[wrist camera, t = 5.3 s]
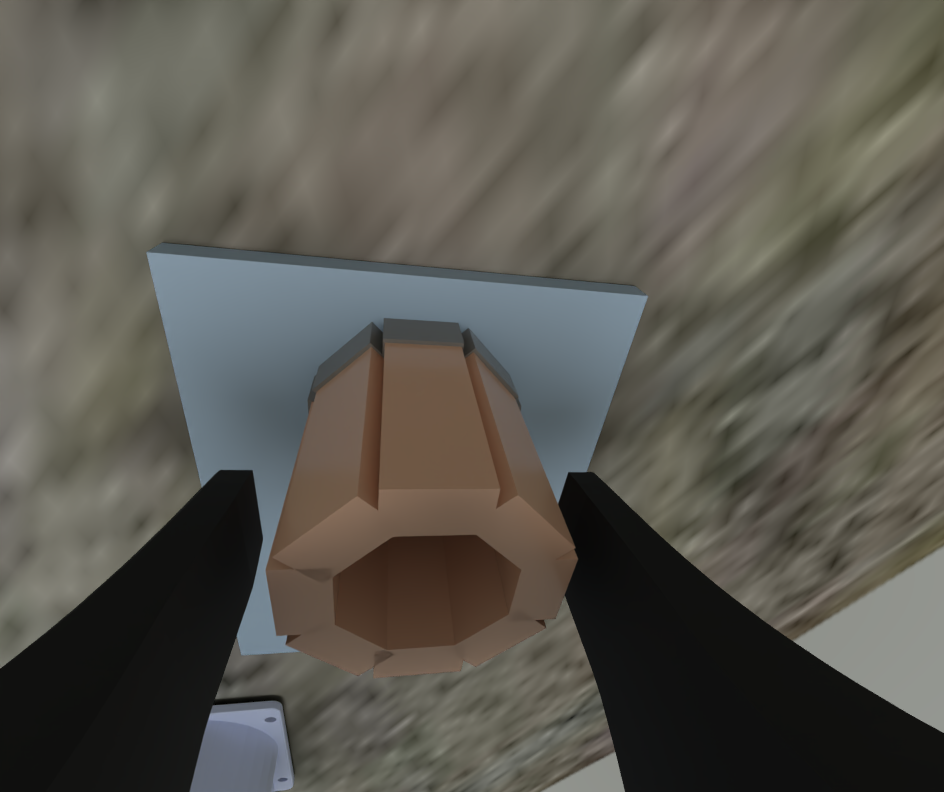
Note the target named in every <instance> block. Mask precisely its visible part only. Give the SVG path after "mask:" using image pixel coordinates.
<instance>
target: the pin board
mask: <svg viewBox="0 0 944 792" xmlns="http://www.w3.org/2000/svg"><path fill="white" fill-rule="evenodd" d="M146 253H147V257H148V261H149V266H150V270H151V274H152V278H153V283H154V287H155V291H156V295H157V300H158V304H159V308H160V312H161V316H162V321H163V325H164V329H165V333H166V338H167V342H168V346H169V350H170V355H171V359H172V363H173V367H174V372H175V376H176V380H177V384H178V389H179V393H180V397H181V401H182V405H183V410H184V414H185V418H186V422H187V427H188V431H189V435H190V439H191V444H192V448H193V452H194V456H195V461H196V465H197V469H198V473H199V477H200V482H201V486H202V487H203V486H204V485H205V484H206V483H207V482H208V481H209V480H210V479H211V478H212V477H213V476H214V474H216V473H217V472H218V471H219V470H253V475H254V482H255V488H256V495H257V501H258V508H259V514H260V521H261V527H262V534H263V543H262V548H261V553H260V558H259V562H258V567H257V572H256V576H255V580H254V585H253V589H252V592H251V595H250V598H249V601H248V604H247V607H246V610H245V613H244V616H243V619H242V621H241V624H240V627H239V630H238V633H237V638H238V643H239V647H240V651H241V655H256V654H272V653H287V652H300V651H298V650H296V649H293V648H291V647H289V646H286V645H285V644H286V640H287V635H285V636H276V631H275V625H274V619H273V613H272V607H271V601H270V595H269V589H268V583H267V577H266V571H265V570H266V566H267V563H268V559H269V555H270V552H271V548H272V544H273V541H274V537H275V534H276V530H277V526H278V523H279V519H280V516H281V512H282V508H283V505H284V501H285V497H286V494H287V490H288V487H289V483H290V479H291V476H292V472H293V468H294V465H295V461H296V458H297V454H298V450H299V447H300V443H301V439H302V436H303V432H304V429H305V425H306V421H307V418H308V401H307V400H308V396H309V393H310V390H311V386H312V383H313V379H314V376H315V375H316V374H317V371H318V367H319V366H320V365H321V364H322V363H323V362H324V361H326V360H327V359H328V358H329V357H330V356H332V355H333V354H334V353H335V352H336V351H338V350H339V349H340V348H341V347H342V346H344V345H345V344H346V343H347V342H348V341H350V340H351V339H352V338H353V337H354V336H356V335H357V334H358V333H359V332H360V331H362V330H363V329H364V328H365V327H366V326H367V325H369V324H370V323H371V322H373V323H374V324H375V325H376V326H377V327H378V328H379V329H380V330H381V331H382V332H383V324H384V318H392V319H407V320H423V321H439V322H455V323H459V327H460V330H461V333H462V332H464V331H465V330H466V329H468V328H469V329H470V330H471V331H472V332H473V333H474V334H475V335H476V337H477V338H478V339H479V340H480V341H481V342H482V343H483V345H484V346H485V347H486V348H487V349H488V350H489V351H490V353H491V354H492V355H493V356H494V357H495V358H496V359H497V361H498V362H499V363H500V364H501V365H502V366H503V367H504V369H505V370H506V371H507V372H508V373H509V374H510V377H511V379H512V381H513V384H514V386H515V388H516V391H517V393H518V396H519V398H518V399H519V402H520V404H521V406H522V407H521V411H520V412H521V414H522V417H523V419H524V422H525V424H526V427H527V429H528V431H529V434H530V436H531V439H532V441H533V444H534V446H535V449H536V451H537V454H538V456H539V459H540V461H541V464H542V466H543V468H544V471H545V473H546V476H547V478H548V481H549V483H550V486H551V488H552V491H553V493H554V496H555V498H556V501H557V503H558V502H559V499H560V496H561V493H562V490H563V487H564V484H565V481H566V478H567V474H568V472H587V469H588V466H589V464H590V461H591V458H592V455H593V452H594V449H595V446H596V444H597V441H598V438H599V435H600V432H601V429H602V426H603V423H604V421H605V418H606V415H607V412H608V409H609V406H610V403H611V401H612V398H613V395H614V392H615V389H616V386H617V383H618V381H619V378H620V375H621V372H622V369H623V366H624V363H625V360H626V358H627V355H628V352H629V349H630V346H631V343H632V340H633V338H634V335H635V332H636V329H637V326H638V323H639V320H640V317H641V315H642V312H643V309H644V306H645V303H646V300H647V297H648V296H647V295H646V294H645V293H643V292H642V291H641V290H639V289H638V288H637V287H636V286H629V285H618V284H608V283H597V282H586V281H575V280H564V279H553V278H542V277H531V276H520V275H509V274H498V273H487V272H477V271H466V270H455V269H444V268H433V267H422V266H411V265H400V264H389V263H378V262H367V261H356V260H346V259H335V258H324V257H313V256H302V255H291V254H280V253H269V252H258V251H247V250H236V249H226V248H215V247H204V246H193V245H182V244H171V243H161V244H159V245H157V246H156V247H154V248H152V249H151V250H149V251H147V252H146Z"/></svg>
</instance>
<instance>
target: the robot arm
mask: <svg viewBox="0 0 944 792" xmlns="http://www.w3.org/2000/svg"><path fill="white" fill-rule="evenodd" d="M558 506H559V508H560V510H561V513H562V515H563V518H564V520H565V523H566V525H567V528H568V530H569V533H570V535H571V538H572V540H573V543H574V545H575V547H576V548H575V549H574V550H575V553H576V555H577V558H578V561H577V563H576V566H575V569H574V571H573V574H572V576H571V579H570V582H569V584H568V587H567V590H566V592H565V597H566V600H567V602H568V605H569V608H570V611H571V613H572V616H573V619H574V622H575V624H576V627H577V630H578V633H579V635H580V638H581V641H582V644H583V646H584V649H585V652H586V655H587V657H588V660H589V663H590V665H591V668H592V671H593V674H594V677H595V680H596V683H597V686H598V689H599V692H600V695H601V699H602V703H603V706H604V710H605V714H606V718H607V721H608V725H609V729H610V733H611V737H612V740H613V744H614V748H615V752H616V756H617V760H618V764H619V768H620V773H621V777H622V781H623V784H624V789H625V792H944V733H942V732H941V731H939V730H937V729H935V728H933V727H932V726H930V725H928V724H926V723H924V722H922V721H920V720H919V719H917V718H915V717H913V716H912V715H910V714H908V713H906V712H905V711H903V710H901V709H899V708H898V707H896V706H894V705H893V704H891V703H890V702H888V701H886V700H885V699H883V698H881V697H879V696H878V695H876V694H874V693H873V692H871V691H869V690H868V689H866V688H864V687H863V686H861V685H859V684H858V683H856V682H854V681H853V680H851V679H850V678H848V677H847V676H845V675H843V674H842V673H840V672H839V671H837V670H835V669H834V668H832V667H831V666H829V665H828V664H826V663H824V662H823V661H821V660H820V659H818V658H817V657H815V656H814V655H812V654H811V653H810V652H808V651H807V650H805V649H804V648H802V647H801V646H799V645H797V644H796V643H795V642H793V641H792V640H790V639H789V638H787V637H786V636H784V635H783V634H781V633H780V632H779V631H777V630H776V629H774V628H773V627H771V626H770V625H769V624H767V623H766V622H765V621H763V620H762V619H761V618H759V617H758V616H757V615H755V614H754V613H753V612H751V611H750V610H749V609H747V608H746V607H745V606H743V605H742V604H741V603H739V602H738V601H737V600H735V599H734V598H733V597H731V596H730V595H729V594H727V593H726V592H725V591H724V590H722V589H721V588H720V587H719V586H717V585H716V584H715V583H714V582H713V581H711V580H710V579H709V578H708V577H707V576H705V575H704V574H703V573H702V572H701V571H700V570H698V569H697V568H696V567H695V566H694V565H692V564H691V563H690V562H689V561H688V560H687V559H685V558H684V557H683V556H682V555H681V554H680V553H679V552H678V551H676V550H675V549H674V548H673V547H672V546H671V545H670V544H669V543H667V542H666V541H665V540H664V539H663V538H662V537H661V536H660V535H659V534H658V533H657V532H656V531H654V530H653V529H652V528H651V527H650V526H649V525H648V524H647V523H646V522H645V521H644V520H643V519H642V518H641V517H640V516H639V515H638V514H637V513H635V512H634V511H633V510H632V509H631V508H630V507H629V506H628V505H627V504H626V503H625V502H624V501H623V500H622V499H621V498H620V497H619V496H618V495H617V494H616V493H615V492H614V491H613V490H612V489H611V488H610V487H608V486H607V485H606V484H605V483H604V482H603V481H602V480H601V479H600V478H599V477H598V476H597V475H595V474H594V473H593V472H568V474H567V478H566V481H565V484H564V487H563V490H562V493H561V496H560V499H559V502H558ZM262 543H263V534H262V527H261V521H260V514H259V508H258V501H257V495H256V488H255V482H254V475H253V470H219V471H218V472H217V473H216V474H214V476H213V477H212V478H211V479H210V480H209V481H208V482H207V483H206V484H205V485H204V486H203V487H202V488H201V489H200V490H199V491H198V492H197V493H196V494H195V495H194V496H193V497H192V498H191V499H190V500H189V501H188V502H187V503H186V504H185V506H184V507H183V508H182V509H181V510H180V511H179V512H178V513H177V514H176V515H175V516H174V517H173V518H172V519H171V520H170V521H169V522H168V523H167V524H166V525H165V526H164V527H163V528H162V529H161V530H160V531H159V532H158V533H156V534H155V535H154V536H153V537H152V538H151V539H150V540H149V541H148V542H147V543H146V544H145V545H144V546H143V547H142V548H141V549H140V550H139V551H138V552H137V553H136V554H135V555H134V556H133V557H132V558H131V559H130V560H128V561H127V562H126V563H125V564H124V565H123V566H122V567H121V568H120V569H119V570H117V571H116V572H115V573H114V574H113V575H112V576H111V577H110V578H109V579H107V580H106V581H105V582H104V583H103V584H102V585H101V586H100V587H98V588H97V589H96V590H95V591H94V592H93V593H92V594H91V595H90V596H88V597H87V598H86V599H85V600H84V601H83V602H82V603H81V604H79V605H78V606H77V607H76V608H75V609H74V610H72V611H71V612H70V613H69V614H68V615H66V616H65V617H64V618H63V619H62V620H60V621H59V622H58V623H57V624H56V625H54V626H53V627H52V628H51V629H50V630H48V631H47V632H46V633H45V634H43V635H42V636H41V637H40V638H39V639H37V640H36V641H35V642H33V643H32V644H31V645H30V646H28V647H27V648H26V649H25V650H23V651H22V652H21V653H20V654H18V655H17V656H16V657H15V658H13V659H12V660H11V661H9V662H8V663H7V664H6V665H4V666H3V667H2V668H0V792H274V791H281V790H288V789H290V788H292V787H293V785H294V772H293V766H292V760H291V754H290V749H289V743H288V737H287V731H286V725H285V719H284V713H283V707H282V704H281V703H280V702H278V701H260V702H248V703H236V704H224V705H213V703H214V700H215V697H216V694H217V691H218V688H219V685H220V683H221V680H222V677H223V674H224V671H225V668H226V665H227V662H228V659H229V656H230V654H231V651H232V648H233V645H234V642H235V639H236V636H237V633H238V630H239V627H240V624H241V621H242V619H243V616H244V613H245V610H246V607H247V604H248V601H249V598H250V595H251V592H252V589H253V585H254V580H255V576H256V572H257V567H258V562H259V558H260V553H261V548H262Z"/></svg>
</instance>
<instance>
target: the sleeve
mask: <svg viewBox="0 0 944 792" xmlns="http://www.w3.org/2000/svg"><path fill="white" fill-rule="evenodd" d="M518 398H519V396H518V393H517V391H516V388H515V386H514V384H513V381H512V379H511V377H510V374H509V373H508V372H507V371H506V370H505V369H504V367H503V366H502V365H501V364H500V363H499V362H498V361H497V359H496V358H495V357H494V356H493V355H492V354H491V353H490V351H489V350H488V349H487V348H486V347H485V346H484V345H483V343H482V342H481V341H480V340H479V339H478V338H477V337H476V335H475V334H474V333H473V332H472V331H471V330H470V329H469V328H468V329H466V330H465V331H464V332H462V333H461V330H460V327H459V323H455V322H439V321H423V320H407V319H392V318H384V324H383V332H382V331H381V330H380V329H379V328H378V327H377V326H376V325H375V324H374V323H373V322H371V323H370V324H369V325H367V326H366V327H365V328H364V329H363V330H362V331H360V332H359V333H358V334H357V335H356V336H354V337H353V338H352V339H351V340H350V341H348V342H347V343H346V344H345V345H344V346H342V347H341V348H340V349H339V350H338V351H336V352H335V353H334V354H333V355H332V356H330V357H329V358H328V359H327V360H326V361H324V362H323V363H322V364H321V365H320V366H319V367H318V371H317V374H316V375H315V376H314V379H313V383H312V386H311V390H310V393H309V396H308V400H307V401H308V418H307V421H306V425H305V429H304V432H303V436H302V439H301V443H300V447H299V450H298V454H297V458H296V461H295V465H294V468H293V472H292V476H291V479H290V483H289V487H288V490H287V494H286V497H285V501H284V505H283V508H282V512H281V516H280V519H279V523H278V526H277V530H276V534H275V537H274V541H273V544H272V548H271V552H270V555H269V559H268V563H267V566H266V570H265V571H266V577H267V583H268V589H269V595H270V601H271V607H272V613H273V619H274V625H275V631H276V636H285V635H287V640H286V644H285V645H286V646H289V647H291V648H293V649H296V650H298V651H300V652H303V653H305V654H307V655H310V656H312V657H314V658H317V659H319V660H321V661H324V662H326V663H328V664H331V665H333V666H335V667H338V668H340V669H342V670H345V671H347V672H349V673H352V674H354V675H356V676H359V675H361V674H363V673H364V672H366V671H368V670H369V669H371V668H373V667H374V674H373V678H382V677H394V676H407V675H419V674H432V673H444V672H456V671H461V668H462V664H463V660H464V661H466V662H468V663H470V664H471V665H473V666H475V667H476V666H478V665H480V664H482V663H484V662H485V661H487V660H489V659H491V658H493V657H494V656H496V655H498V654H500V653H502V652H504V651H505V650H507V649H509V648H511V647H513V646H514V645H516V644H518V643H520V642H522V641H524V640H525V639H527V638H529V637H531V636H533V635H534V634H536V633H538V632H540V631H542V630H544V629H545V628H546V626H545V622H544V620H545V619H556V616H557V613H558V611H559V608H560V606H561V603H562V600H563V598H564V595H565V592H566V590H567V587H568V584H569V582H570V579H571V576H572V574H573V571H574V569H575V566H576V563H577V561H578V558H577V555H576V553H575V550H574V549H575V548H576V547H575V545H574V543H573V540H572V538H571V535H570V533H569V530H568V528H567V525H566V523H565V520H564V518H563V515H562V513H561V510H560V508H559V506H558V503H557V501H556V498H555V496H554V493H553V491H552V488H551V486H550V483H549V481H548V478H547V476H546V473H545V471H544V468H543V466H542V464H541V461H540V459H539V456H538V454H537V451H536V449H535V446H534V444H533V441H532V439H531V436H530V434H529V431H528V429H527V427H526V424H525V422H524V419H523V417H522V414H521V412H520V411H521V407H522V406H521V404H520V402H519V399H518Z"/></svg>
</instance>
